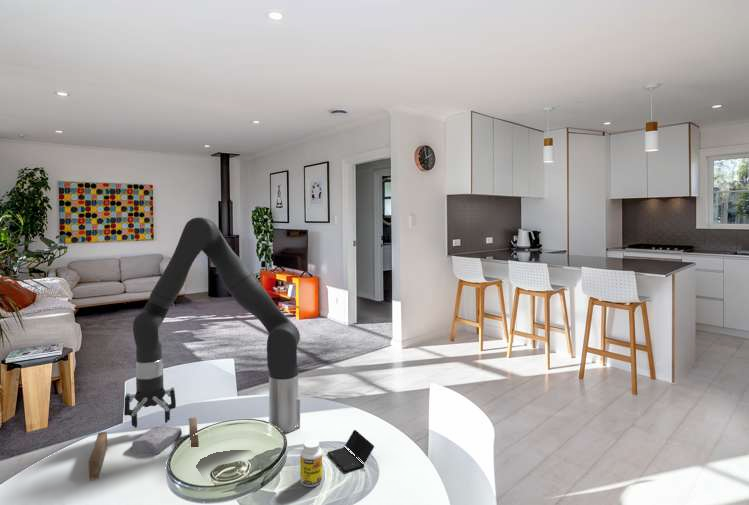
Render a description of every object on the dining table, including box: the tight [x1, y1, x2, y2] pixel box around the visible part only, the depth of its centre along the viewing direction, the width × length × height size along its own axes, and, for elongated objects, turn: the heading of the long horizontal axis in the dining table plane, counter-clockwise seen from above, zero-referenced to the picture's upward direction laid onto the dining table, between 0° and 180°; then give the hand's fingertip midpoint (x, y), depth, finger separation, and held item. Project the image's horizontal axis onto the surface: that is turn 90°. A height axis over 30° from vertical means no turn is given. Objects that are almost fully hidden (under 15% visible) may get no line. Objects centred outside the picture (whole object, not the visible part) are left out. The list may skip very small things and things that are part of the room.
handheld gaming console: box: [327, 429, 375, 474], centre depth 125 cm, size 12×7×10 cm
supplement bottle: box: [299, 439, 323, 488], centre depth 114 cm, size 6×6×10 cm
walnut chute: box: [88, 417, 200, 481], centre depth 126 cm, size 26×16×5 cm, turn 114°
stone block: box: [131, 424, 183, 456], centre depth 132 cm, size 12×5×10 cm
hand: (151, 424), depth 139 cm, fingers open, 8 cm apart
